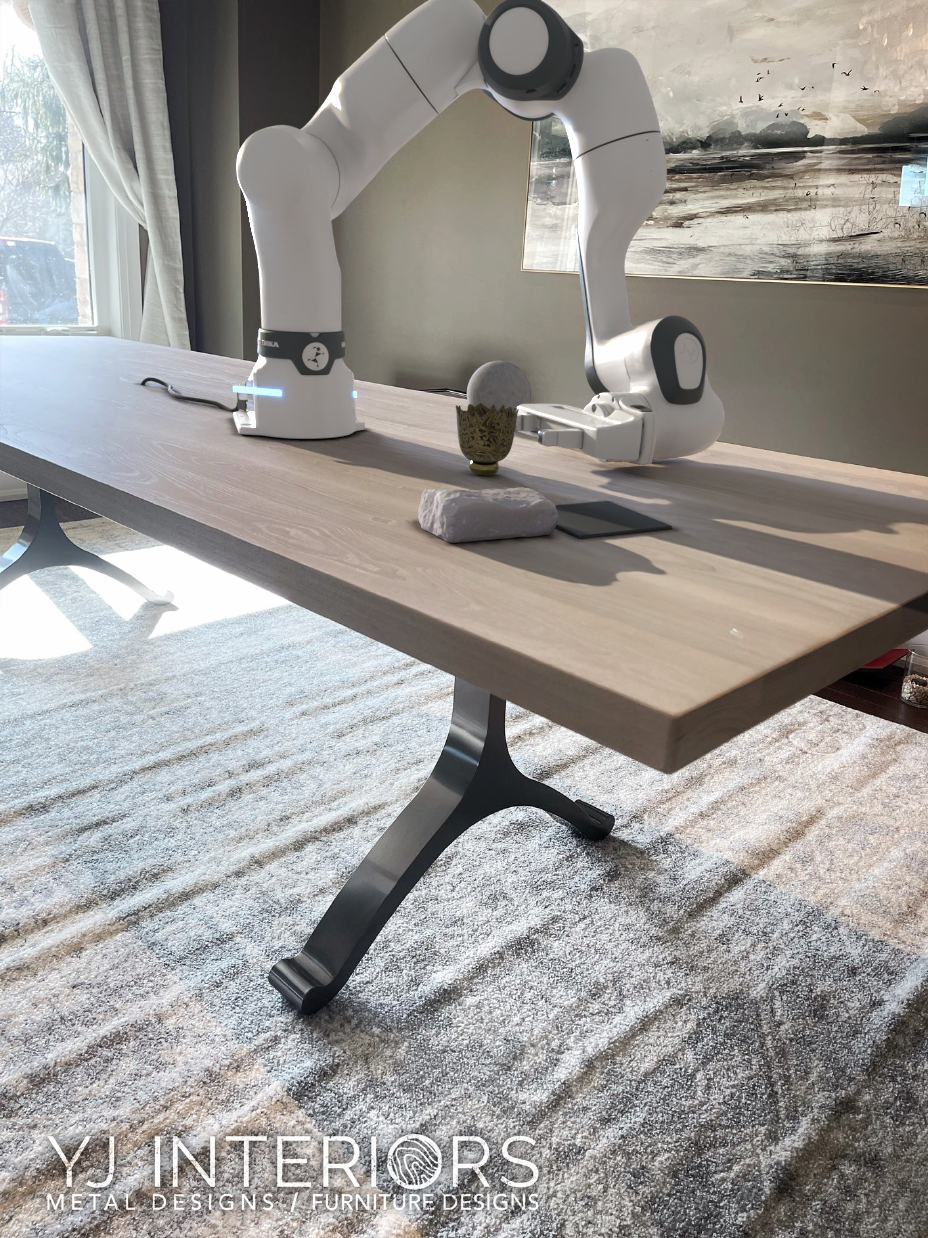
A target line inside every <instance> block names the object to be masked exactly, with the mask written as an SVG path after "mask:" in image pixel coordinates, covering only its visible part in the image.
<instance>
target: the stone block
mask: <svg viewBox="0 0 928 1238" xmlns="http://www.w3.org/2000/svg"><path fill="white" fill-rule="evenodd" d="M420 495H421V496H420V502H419V505H418V511H417V512H418V519H417V520H418V522H419V524H420V527H421V529H422V530H423V531H427V532H428V533H431V534H433V535H434V536H436V537H437V538H440V539H441V540H444V542H447V543H450V544H452V543H453V544H454V543H469V542H478V541H490V540H498V539H513V538H520V537H522V538H529V537H531V538H532V537H538V536H539V537H540V536H546V535H548V536H549V535H551V534H552V533H553V532H554V530H555V528H557V527H556V525H557V522H558V511H557V509H556V506H555V505H556V504H555V503H554V502H552V501H551V500H550V499H549V498H548V497H546V496H544V495H543V494H542V493H540V492H538V491H537V490H535V489H532V488H530V487H529V488H527V487H522V486H521V487H498V488H484V489H477V490H475V489H461V488H435V489H428V488H425V489H424V490H423V491H422V493H421V494H420Z"/></svg>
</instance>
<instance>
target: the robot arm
mask: <svg viewBox="0 0 928 1238" xmlns="http://www.w3.org/2000/svg"><path fill="white" fill-rule="evenodd" d="M477 89H481V90H482V93H484V94H485V95H486V96H488V97H489V98H490V99H491V100H493V101H494V102H495V103H496V104H498V105H499V106H500V107H501V108H502V109H503V110H505V111H506V112H507V113H509V114H510V115H512V116H513V117H515V118H517V119H518V120H519V119H520V120H521V121H522V120H523V121H526V122H542V121H545V120H548V119H550V118H552V117H554V116H557V118H559V119H560V121H561V122H562V125H563V126H564V129H565V132H566V134H567V138H568V142H569V147H570V151H571V156H572V161H573V165H574V171H575V176H576V181H577V190H578V205H579V206H578V221H577V226H576V237H575V239H576V254H577V255H576V256H577V264H578V272H579V273H578V275H579V281H580V290H581V298H582V304H583V313H584V320H585V330H586V333H585V334H586V343H585V345H586V346H585V353H584V373H585V378H586V381H587V383H588V385H589V387H590V389H591V391H592V393H594V395H595V396H593V398H592V399H591V401H590V402H589V403H588V404H587V405H585V407H584V408H580V407H577V406H573V405H569V404H560V403H529V404H522V405H519V406H518V407H517V409H519V411H518V415H517V422H516V428H515V433H522V434H525V435H527V436H531V437H533V438H536V439H537V442H538V444H539V445H541V446H544V447H546V448H549V447H559V448H565V449H569V450H571V451H574V452H577V453H580V454H583V455H585V456H589V457H592V458H594V459H595V460H596V461H598V462H600V463H630V464H633V465H640V466H644V465H646V466H647V465H652V463H653V461H654V460H653V459H655V460H667V459H678V458H684V457H689V456H694V455H697V454H700V453H702V452H705V451H707V450H709V448H710V447H712V446H713V445H714V444H715V443H716V442H717V440H718V439H719V438H720V436H721V434H722V433H723V432H722V431H723V430H724V429H723V428H724V425H725V420H726V419H725V417H726V416H725V415H726V414H725V408H724V404H723V402H722V400H721V399H720V397H719V396H718V395H717V394H716V392H715V391H714V390H713V388H712V386H711V383H710V380H709V376H708V371H707V345H706V343H705V339H704V337H703V335H702V333H701V331H700V330H699V328H698V327H697V326H696V324H694V323H693V322H692V321H691V320H689V319H688V318H687V317H684V316H681V315H675V314H674V315H673V314H672V315H668V316H665V317H661V318H657V319H653V320H650V321H646V322H644V323H641V324H638V325H633V323H632V321H631V316H630V307H629V298H628V297H629V296H628V288H627V279H626V270H625V269H626V268H625V267H626V266H625V265H626V256H627V254H628V250H629V247H630V244H631V243H632V241H633V239H634V237H635V236H636V235H637V232H638V231H639V230H640V228H641V227H642V226H643V224H644V223H646V221H647V220H648V219H649V218H650V217H651V215H652V214H653V213H654V212H655V210H656V208H657V207H658V205H659V204H660V202H661V200H662V197H663V195H664V193H665V191H666V187H667V181H668V179H667V178H668V169H667V168H668V162H667V155H666V150H665V146H664V141H663V136H662V131H661V128H660V121H659V118H658V114H657V110H656V106H655V103H654V100H653V97H652V93H651V90H650V87H649V85H648V82H647V80H646V77H645V74H644V73H643V69H642V67H641V65H640V63H639V61H638V59H637V58H636V57H635V55H634V54H633V53H632V52H630V51H629V50H627V49H624V48H620V47H603V48H599V49H596V50H592V51H585V46H584V42H583V40H582V39H581V37H580V36H579V35H578V34H577V33H576V32H575V31H574V30H573V29H572V28H571V26H570V25H569V24H568V23H567V22H566V21H565V20H564V18H563V17H562V16H561V15H560V13H558V12H557V11H556V10H555V9H554V8H553V7H552V6H550V4H548V3H546V2H545V1H543V0H504V1H502V2H500V3H499V4H498V5H496V6H495V7H494V8H493V9H492V10H491V11H490V12H489V14H488V15H486V14H485V12H484V11H483V9H482V8H481V7H480V5H479V4H478V3H477V2H476V1H475V0H427V1H425V2H424V3H422V4H421V5H419V6H418V7H416V8H415V9H413V10H412V11H411V12H409V13H408V14H407V15H405V16H404V17H403V18H402V19H400V20H399V21H397V23H395V24H394V25H393V26H391V28H390V29H388V30H387V31H386V32H385V33H384V35H382V36H380V38H379V39H377V40H376V42H374V43H373V44H372V45H371V46H370V47H369V48H368V49H367V50H366V51H365V52H364V53H363V54H362V55H361V56H360V57H358V58H357V60H355V61H354V62H353V63H351V65H350V66H349V67H347V69H346V70H345V71H344V72H343V73H342V74H340V75H339V76H338V77H337V79H336V80H335V82H334V84H333V86H332V89H331V91H330V92H329V94H328V95H327V97H326V98H325V100H324V102H323V103H322V104H321V106H320V107H319V108H318V109H317V111H316V112H315V114H314V115H313V116H312V118H310V119H309V121H308V122H307V123H306V124H305V125H304V126H303V127H302V128H298V127H295V126H291V125H287V124H276V125H271V126H267V127H264V128H261V129H259V130H256V131H255V132H253V133H252V134H250V135H249V136H248V137H247V138H246V139H245V141H244V142H243V143H242V145H241V147H240V148H239V151H238V153H237V158H236V166H235V167H236V169H235V170H236V177H237V182H238V184H239V187H240V189H241V191H242V193H243V196H244V199H245V201H246V206H247V212H248V217H249V223H250V228H251V233H252V236H253V242H254V246H255V247H254V248H255V252H256V257H257V264H258V273H259V274H258V275H259V292H260V293H259V294H260V295H259V296H260V319H261V322H260V323H261V328H259V329H258V336H257V351H256V352H257V354H258V359H257V361H256V363H255V365H254V367H253V369H252V371H251V373H250V375H249V377H248V379H245V380H244V383H238V384H237V385H232V392H233V393H236V399H237V401H236V405H235V406H234V407H228V406H227V405H224V404H223V403H221V402H218V401H216V400H213V399H207V398H200V397H193V396H187V395H183V394H180V393H177V392H175V391H174V390H173V389H174V387H173V385H172V384H170V383H168V382H166V381H164V380H161V379H159V378H156V377H153V376H148V377H145V378H143V380H142V381H141V382H140V386H145V385H146V384H147V382H153V383H157V384H159V385H161V386H163V387H165V388H167V391H168V393H169V394H170V395H171V396H172V397H174V398H176V399H179V400H182V401H187V402H192V403H193V402H194V403H198V404H206V405H211V406H215V407H217V408H219V409H222V410H224V411H228V412H233V418H232V419H233V421H234V424H235V427H236V430H237V432H238V434H240V435H248V436H249V435H250V436H263V437H264V436H265V437H271V438H281V439H297V440H299V439H303V440H304V439H307V440H309V439H311V440H312V439H314V440H315V439H331V438H339V437H344V436H349V435H351V434H353V433H355V432H358V431H364V430H366V423H365V421H364V420H358V419H357V417H358V416H357V404H356V403H357V401H356V399H357V398H358V391H356V385H355V375H354V372H353V371H352V370H351V369H350V368H349V367H348V366H347V365H346V363H345V361H344V359H343V358H345V356H346V345H347V344H346V343H347V342H346V339H345V332H344V331H343V329H342V270H341V266H340V263H339V260H338V255H337V251H336V244H335V237H334V231H333V224H332V223H333V222H332V221H333V220H334V219H336V218H338V217H339V216H340V215H342V213H344V211H345V210H346V209H347V208H348V206H349V205H350V204H351V203H352V202H353V201H354V200H355V199H356V198H357V197H358V196H359V194H360V193H361V192H362V191H363V190H364V189H365V188H366V187H367V186H368V185H369V183H371V182H372V180H373V179H374V178H375V177H376V176H377V174H378V173H379V172H380V171H381V169H382V168H383V167H384V166H385V165H386V164H387V163H388V162H389V161H390V160H391V159H392V157H393V156H395V154H397V153H398V151H399V150H401V149H402V148H403V147H404V146H405V145H407V143H409V142H410V141H411V140H412V139H413V138H414V137H415V136H417V135H418V134H419V133H420V132H421V131H422V130H424V129H425V128H426V127H427V126H428V125H429V124H430V123H431V122H432V121H433V120H435V119H436V118H437V117H438V116H439V115H440V114H442V113H443V111H445V110H446V109H447V108H448V107H449V106H450V105H451V104H452V103H453V102H454V101H456V100H458V98H459V97H461V96H463V95H464V94H466V93H467V92H469V91H473V90H477Z"/></svg>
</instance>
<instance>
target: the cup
mask: <svg viewBox="0 0 928 1238" xmlns="http://www.w3.org/2000/svg"><path fill="white" fill-rule="evenodd" d="M518 411H519V409H516V408H514V409H513V412H512V408H511V407H508V408H505V406H504V405H503V406H502V407H501V408H500V409H499V410H498V412H497V410H496V407H495V405H494V404H493V405H492V407H491V409H490V410H489V408H488V407H486V406H485V405H483V404H482V403H479V404H478V405H476V406H475V407H474V406H473V405H471V404H468V405H467V410H463V409H462V406H461V405H457V404H456V405H455V413H456V427H457V428H456V429H457V439H458V445H459V449H460V451H461V454H462V455H463V456H464V457H465V458H466V459H468V460H469V461H470V463H469V465H468V468H469V471H470V473H472V474H473V475H476V476H483V477H486V476H487V477H488V476H489V477H490V476H495V475H497V474H498V472H499V471H500V464H499V462H501V461H503V460H504V459H506V458H507V457H508V455H509V454H510V452H511V450H512V448H513V447H512V446H513V443H514V440H515V439H514V438H515V433H516V432H515V428H516V422H517V415H518Z"/></svg>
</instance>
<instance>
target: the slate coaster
mask: <svg viewBox="0 0 928 1238" xmlns="http://www.w3.org/2000/svg"><path fill="white" fill-rule="evenodd" d="M554 505H555V506H556V509H557V511H558V522H557V525H556V527H555V528H556V529H559V530H561V531H562V532H565V533H567V534H570V535H571V536H573V537H576V538H578V539H587V538H597V537H606V536H607V537H608V536H616V535H625V534H634V533H643V532H653V531H661V530H663V531H664V530H672V529H673V525H671V524H668V523H666V522H664V521H661V520H659V519H656V518H653V517H651V516H649V515H645V514H643V513H640V512H638V511H636V510H632V509H630V508H628V507H625V506H623V505H620V504H618V503H615V502H612V501H610V500H601V501H600V500H599V501H588V502H578V503H577V502H576V503H565V504H554Z"/></svg>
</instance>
